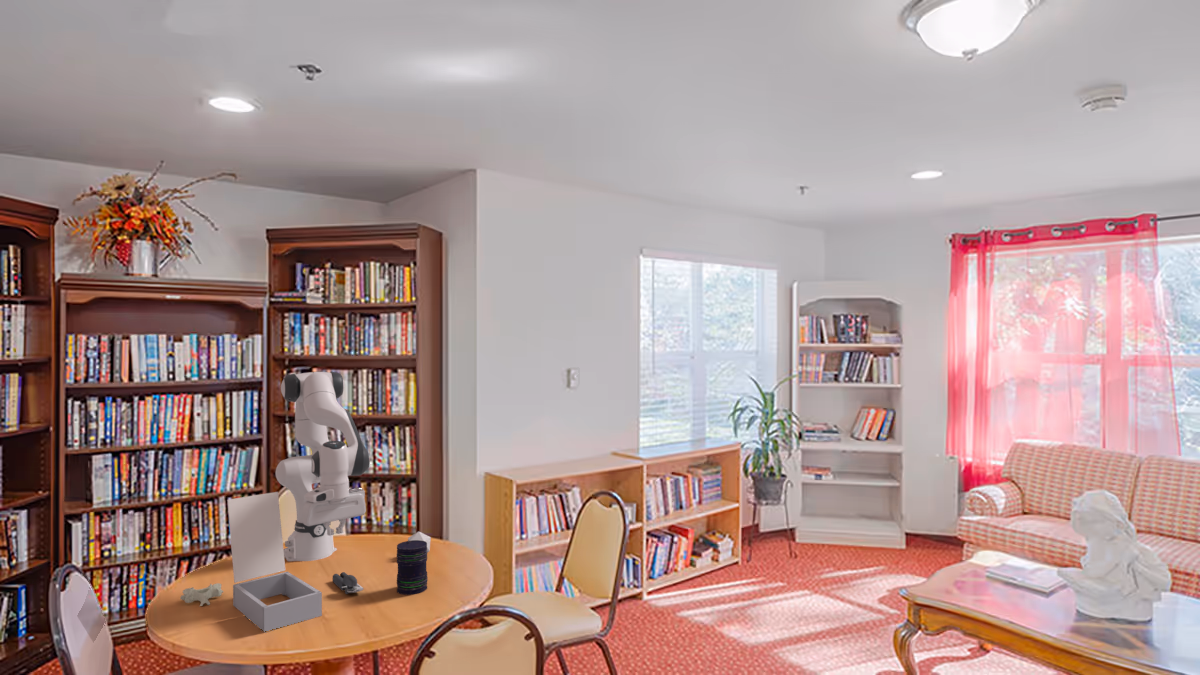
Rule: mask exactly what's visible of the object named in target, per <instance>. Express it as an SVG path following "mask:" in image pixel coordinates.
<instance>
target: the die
mask: <svg viewBox="0 0 1200 675" xmlns="http://www.w3.org/2000/svg"><path fill="white" fill-rule="evenodd" d="M431 538H432V537H431V536H429V535H427V534H425V533H423V532H421V531H417V532H415V533H413V534H412V535H411V536H409V537H408V538H407V541H412V540H420V541H425V542H427V553H429V552H430V549H431V542H432V541H431Z"/></svg>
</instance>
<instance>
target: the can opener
mask: <svg viewBox="0 0 1200 675" xmlns="http://www.w3.org/2000/svg"><path fill="white" fill-rule="evenodd" d="M332 582H333V583H334V584H335V585H336V586H337V587H338V588H339V589H340V590H341V591H344V593H345V594H346V595H348V594H353V593H358V592H362V591H363V590H364V587H363V586H361V585H360V584H359V583H358V579H357V578H356V577H355V575H353V574H348V573H347V572H344V571H343V572H340V575H339V573H334V574H333V575H332Z"/></svg>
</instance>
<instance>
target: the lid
mask: <svg viewBox="0 0 1200 675" xmlns="http://www.w3.org/2000/svg"><path fill="white" fill-rule="evenodd" d="M279 500H280V499H279V492H278V491H275V492H274V491H273V492H267V493H262V494H256V495H248V496H243V497H242V496H241V497H236V498H230V499H227V500H226V501H227V511H228V524H229V535H230V546H231V548H230V549H231V558H232V560H231V561H232V570H233V572H232V573H233V582H234V583H235V584H237V583H241V582H245V581H247V580H248V581H249V580H253V579H257V578H262V577H266V576H270V575H274V574H278V573H279V572H281V573H282V572H286V563H285V562H286V561H285V557H284V550H283V549H284V540H283V532H282V520H281V509H280V501H279Z"/></svg>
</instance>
